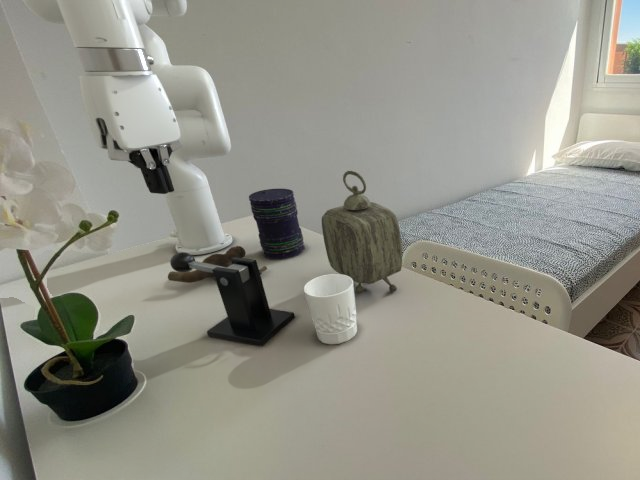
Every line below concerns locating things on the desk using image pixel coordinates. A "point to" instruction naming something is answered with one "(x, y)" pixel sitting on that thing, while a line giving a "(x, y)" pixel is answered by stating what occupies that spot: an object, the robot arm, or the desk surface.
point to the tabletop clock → (362, 239)
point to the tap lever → (202, 265)
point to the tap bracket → (246, 307)
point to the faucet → (214, 259)
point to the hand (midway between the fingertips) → (162, 191)
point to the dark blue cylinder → (277, 223)
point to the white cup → (332, 307)
